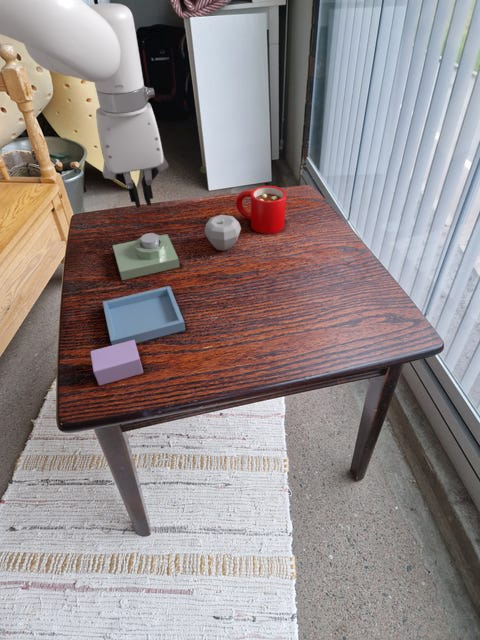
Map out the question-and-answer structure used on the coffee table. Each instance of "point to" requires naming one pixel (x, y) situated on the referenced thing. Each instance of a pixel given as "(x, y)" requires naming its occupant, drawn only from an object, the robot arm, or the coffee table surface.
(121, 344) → the soap bar
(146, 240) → the grey push button
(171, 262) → the green push button box
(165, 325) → the soap dish
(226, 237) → the apple
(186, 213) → the coffee table surface
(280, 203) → the mug
